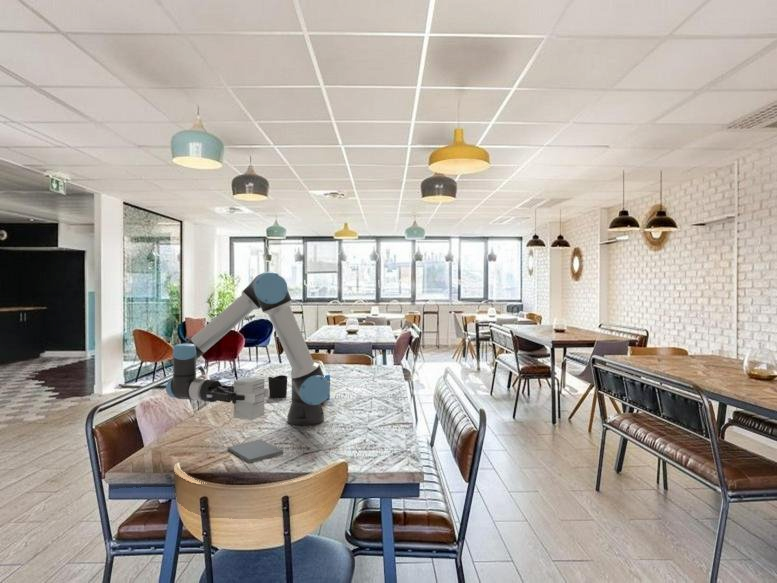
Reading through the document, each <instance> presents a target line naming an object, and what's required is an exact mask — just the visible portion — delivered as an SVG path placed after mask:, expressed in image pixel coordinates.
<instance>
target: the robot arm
mask: <svg viewBox="0 0 777 583" xmlns="http://www.w3.org/2000/svg"><path fill="white" fill-rule="evenodd" d="M291 303H292V298H291V295H290V293H289V290H288V283H287V281H286V280H285V278H284V277H283V276H282V275H281V274H279V273H277V272H276V271H265V272H262V273H260V274H257V275H256V276H255V277H254V278H253V279H252V281H250V283H249V284H248V286H246V287H245V288H244V289H243V290H242V291H241V295H239V297H238V298H236V299H235V300H234V301H233V302H232V303H231V304H230V305H228V306H226V308H224V310H223V311H221V312H220V313H219V314H217V315H216V317H214V318H213V319H212V320H211V321H210V322H208V323H206V325H205V326H203V328H201V329H199V330H198V332H197V333H195V334H194V335H193V336H192V337H190V338H189V340H187V341H186V342H184V343H178V344H174V345H173V347H172V370H173V372H172V373H173V374H172V377H171V378H169V379H168V381H167V384H166V385H165V391H166V394H167V396H168V397H169V398H170V397H171V398H174V399H177V400H178V399H179V400H191V401H198V403H201V402H208V403H216V402H223V403H232V404H233V405H234V403H236V400H237V401H241V402H251V403H254V402H255V394H250V393H240V392H238V393H237V395H236V393H234V383H233V384H231V385H228V384H222V383H221V382H220V381H219V380H218V379H207V378H197V360H198V359H199V358H200V357H201V356H203V355H204V354H205V353H206V352H208V350H210V348H211V347H213V346H214V345H215V344H216V343H218V342H219V341H220V340H221V339H223V337H225V336H226V335H227V334H228V333H229V332H231V331H232V330H233V329H234V328H235V327H236V326H238V325H239V324H240V323H241V322H242V321H243V320H244V319H245V318H246V317H247V316H249V315H250V314H252V313H253V311H254V310H259V309H261V311H262V313H264V314H266V315H268V316H269V317H268V318H269V319H270V321H271V324H272V326H273V329H274V330H275V333H276V335H277V337H278V340H279V342H280V344H281V347H282V349H283V351H284V353H285V357H286V358H287V360H288V362H289V366H290V368H291V375H290V378H291V403H290V406H289V410H288V413H287V418H286V419H287V423H288V424H290V425H295V426H309V425H311V424H312V425H316V423H317V424H320V423H323V421H324V420H325V412H324V410H323V408H322V403H324V402H325V401H326V400H328V399H327V397H328V395H329V393H330V394H331V384H330V385H329V382H328V380H327V379H326V378H325V377H324V376H325V375H324V372H323V371H322V368H321V366H320V364H319V363H318V362H315V361H314V358H313V356H312V354H311V353H310V352H311V351H310V350H309V346H308V345H307V342H306V341H305V338H304V336H303V333H302V331H301V329H300V327H299V325H298V322H297V320H296V317H295V314H294V312H293V310H292V308H291ZM264 398H270V389H269V388H265V387H264ZM312 425H311V426H312Z"/></svg>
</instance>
